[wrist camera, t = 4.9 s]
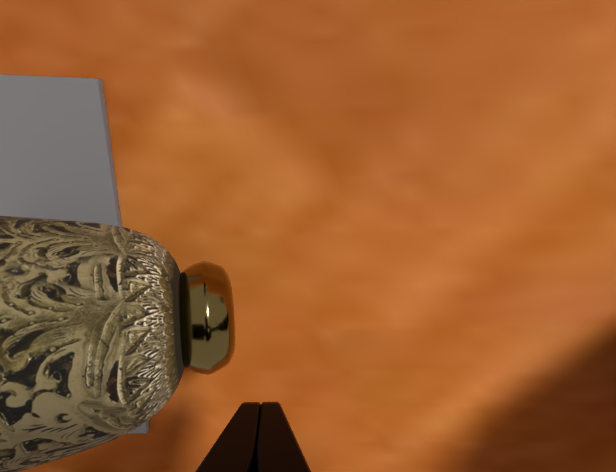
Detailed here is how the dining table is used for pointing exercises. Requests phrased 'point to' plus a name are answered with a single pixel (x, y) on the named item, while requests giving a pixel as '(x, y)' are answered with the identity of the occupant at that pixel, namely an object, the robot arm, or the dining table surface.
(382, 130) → the dining table surface
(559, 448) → the dining table surface
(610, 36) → the dining table surface
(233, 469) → the robot arm
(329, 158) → the dining table surface
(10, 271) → the cup
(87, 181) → the felt pad
